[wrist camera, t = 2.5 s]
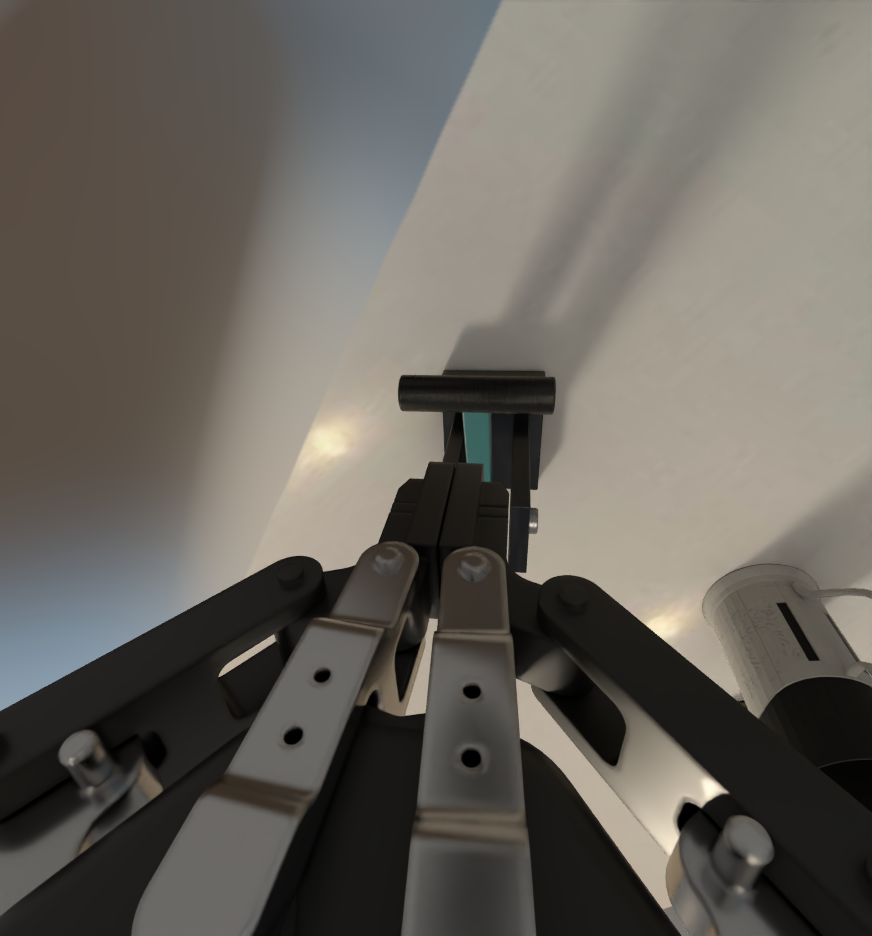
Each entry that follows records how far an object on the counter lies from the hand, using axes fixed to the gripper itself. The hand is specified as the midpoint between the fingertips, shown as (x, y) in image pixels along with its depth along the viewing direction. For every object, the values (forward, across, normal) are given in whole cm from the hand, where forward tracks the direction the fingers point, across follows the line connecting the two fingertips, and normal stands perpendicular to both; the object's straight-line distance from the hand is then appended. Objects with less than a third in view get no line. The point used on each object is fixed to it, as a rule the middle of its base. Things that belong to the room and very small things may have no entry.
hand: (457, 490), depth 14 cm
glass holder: (+22, -23, +22) cm, 39 cm away
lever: (+10, 0, +4) cm, 11 cm away
